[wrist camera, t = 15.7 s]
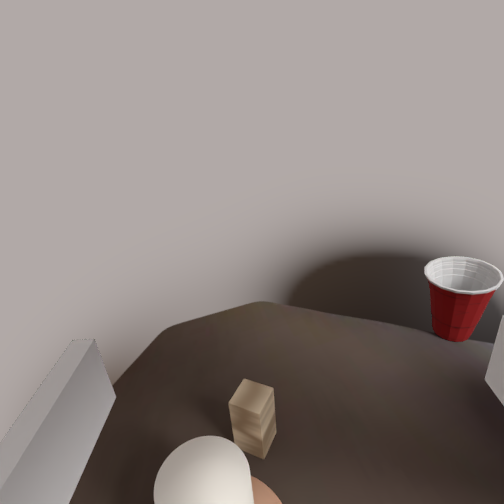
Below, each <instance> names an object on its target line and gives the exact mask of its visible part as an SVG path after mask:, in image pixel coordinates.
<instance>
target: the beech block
mask: <svg viewBox="0 0 504 504" xmlns="http://www.w3.org/2000/svg"><path fill="white" fill-rule="evenodd" d="M229 410H230V417H231V423H232V430H233V437H234V443H235V444H236V445H237V446H238V447H239V448H240V449H241V450H242V451H245V452H247V453H249V454H252V455H254V456H256V457H259V458H261V459H263V460H264V458H265V456H266V454H267V452H268V450H269V448H270V445H271V443H272V441H273V439H274V437H275V435H276V418H275V403H274V388H272V387H269V386H266V385H263V384H259V383H256V382H253V381H250V380H247V379H244V380H243V381H242V383H241V384H240V386H239V387H238V389H237V390H236V392H235V394H234V395H233V397H232V398H231V400H230V401H229Z"/></svg>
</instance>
